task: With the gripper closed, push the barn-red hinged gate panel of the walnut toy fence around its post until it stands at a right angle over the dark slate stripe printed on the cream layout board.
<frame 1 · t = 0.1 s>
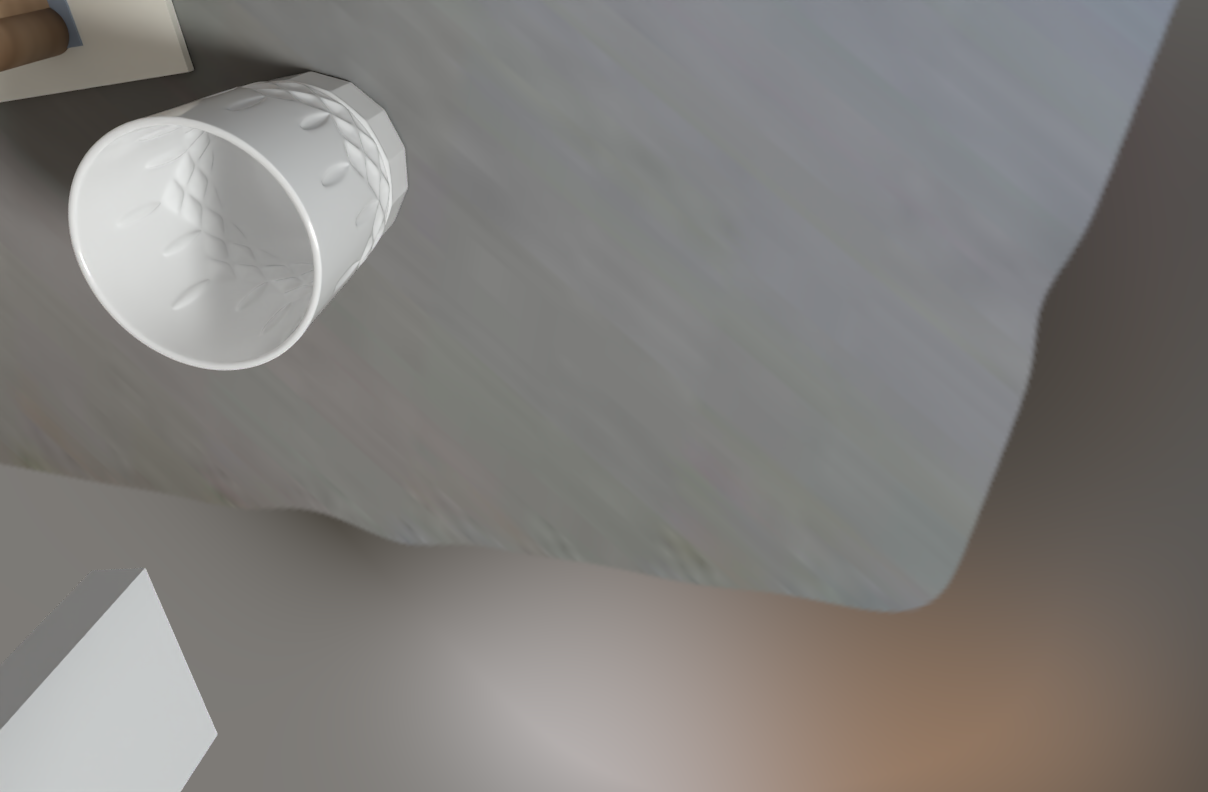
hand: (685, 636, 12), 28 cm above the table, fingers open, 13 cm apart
white cup: (326, 160, 40), on the table
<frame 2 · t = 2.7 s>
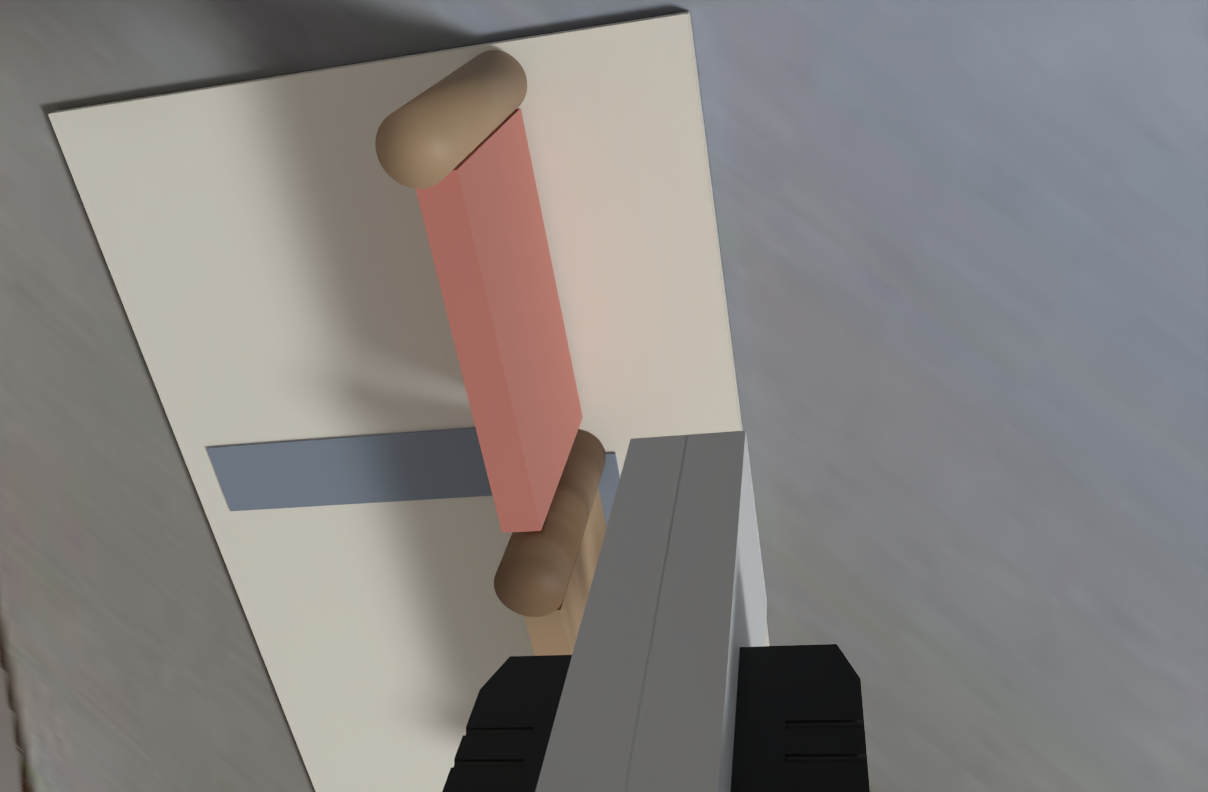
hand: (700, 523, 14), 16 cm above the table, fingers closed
fence gate: (501, 294, 26), point 4 cm above the table, hinge at 0.0°
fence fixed: (576, 454, 32), resting on layout board
layout board: (465, 497, 34), on the table
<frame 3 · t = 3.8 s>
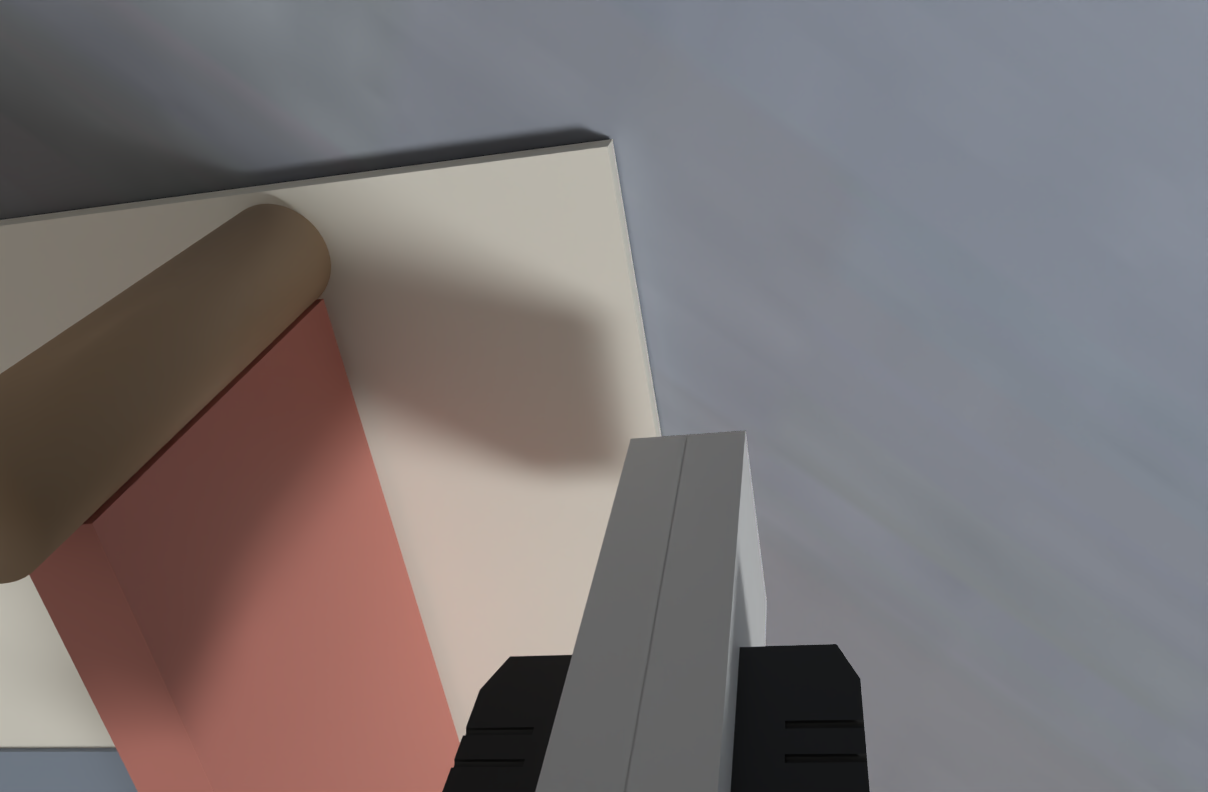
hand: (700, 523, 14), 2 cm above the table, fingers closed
fence gate: (272, 650, 14), point 4 cm above the table, hinge at 0.0°
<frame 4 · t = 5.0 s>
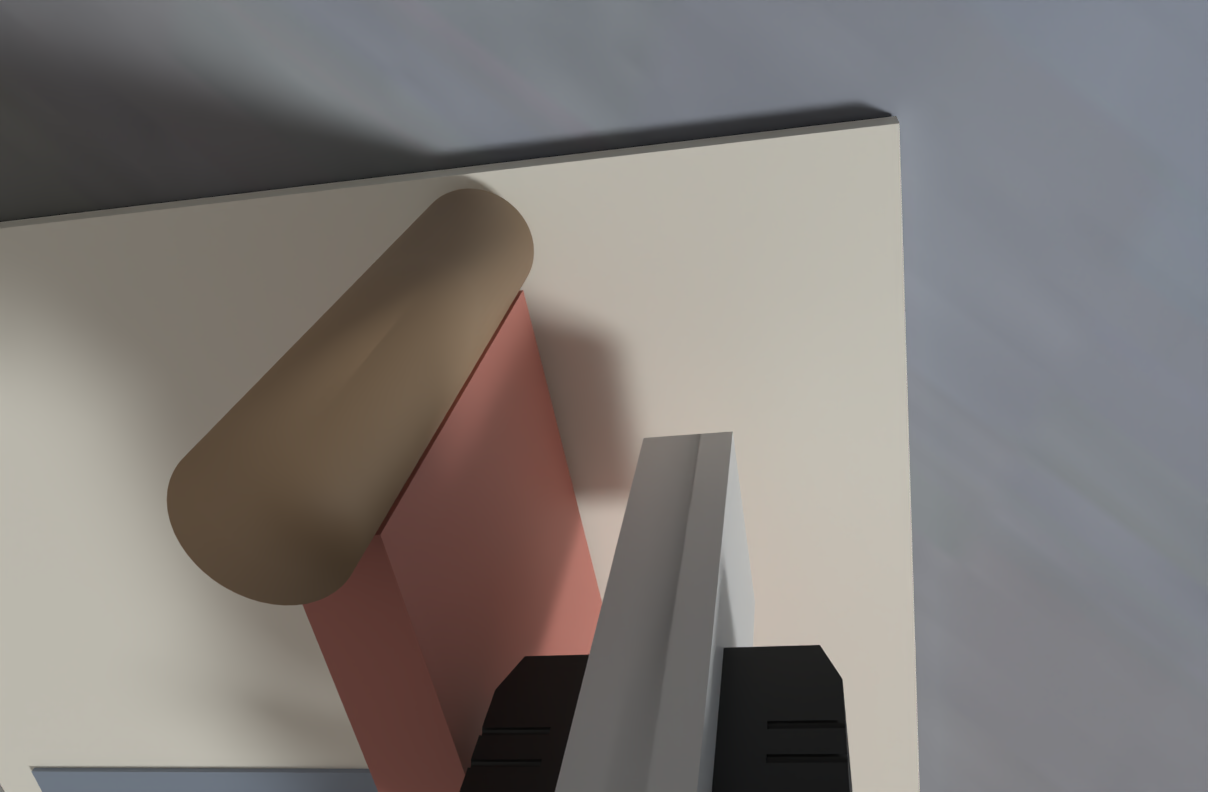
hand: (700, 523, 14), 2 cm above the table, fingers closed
fence gate: (498, 671, 13), point 4 cm above the table, hinge at 2.9°, touching gripper
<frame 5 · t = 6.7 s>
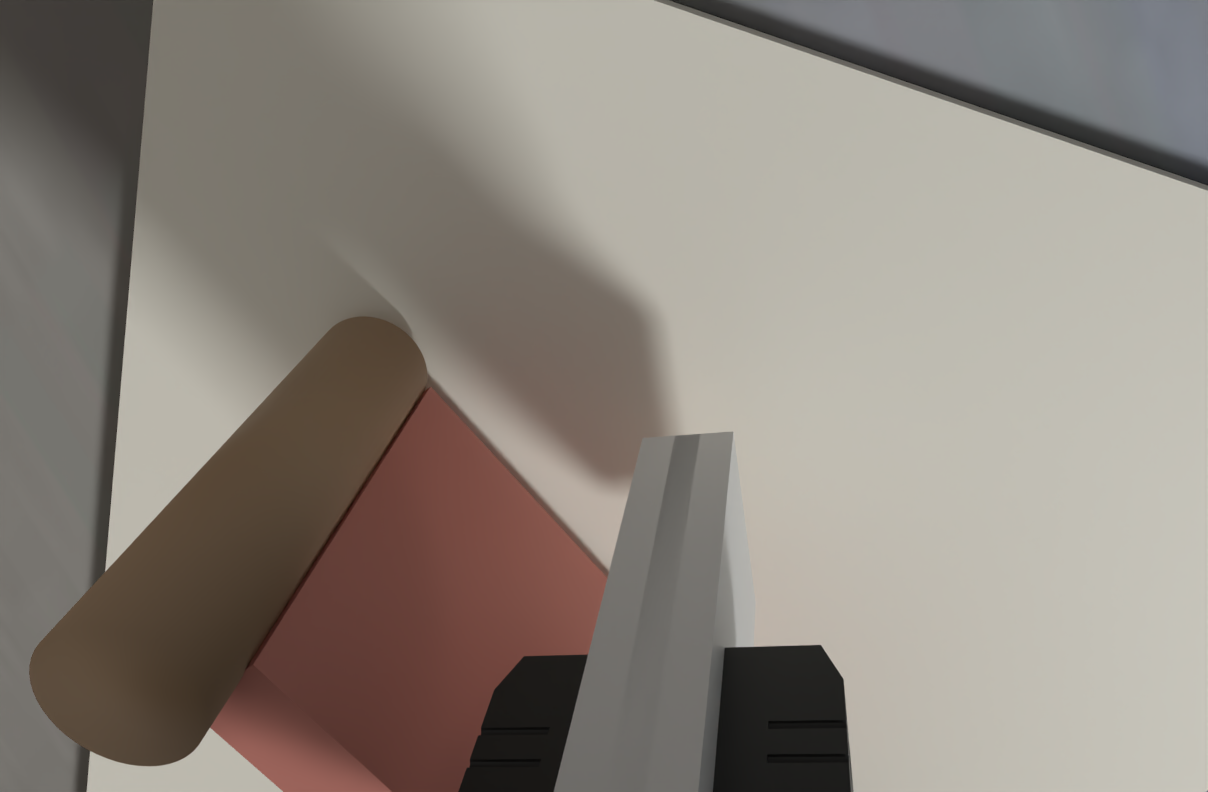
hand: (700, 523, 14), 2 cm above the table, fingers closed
fence gate: (529, 742, 13), point 4 cm above the table, hinge at 56.4°, touching gripper
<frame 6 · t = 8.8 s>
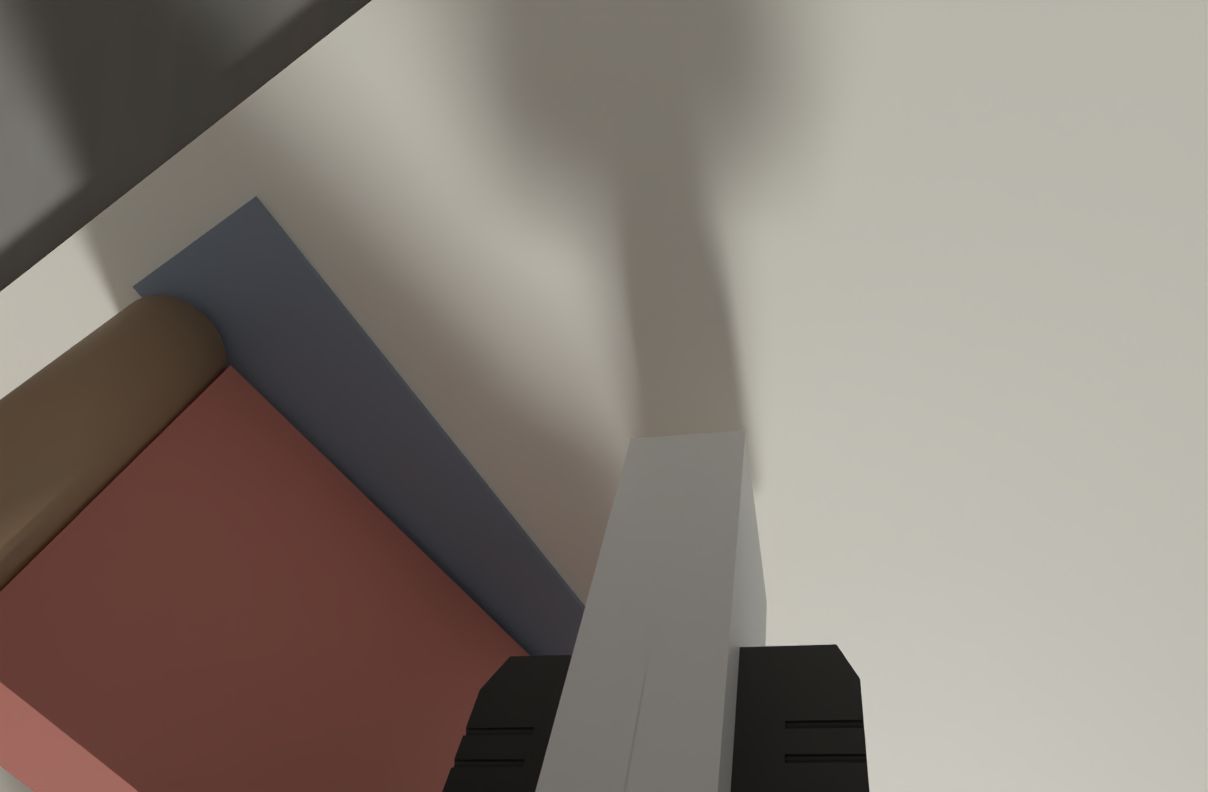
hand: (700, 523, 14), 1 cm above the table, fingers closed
fence gate: (311, 719, 13), point 4 cm above the table, hinge at 96.4°
layout board: (469, 664, 18), on the table
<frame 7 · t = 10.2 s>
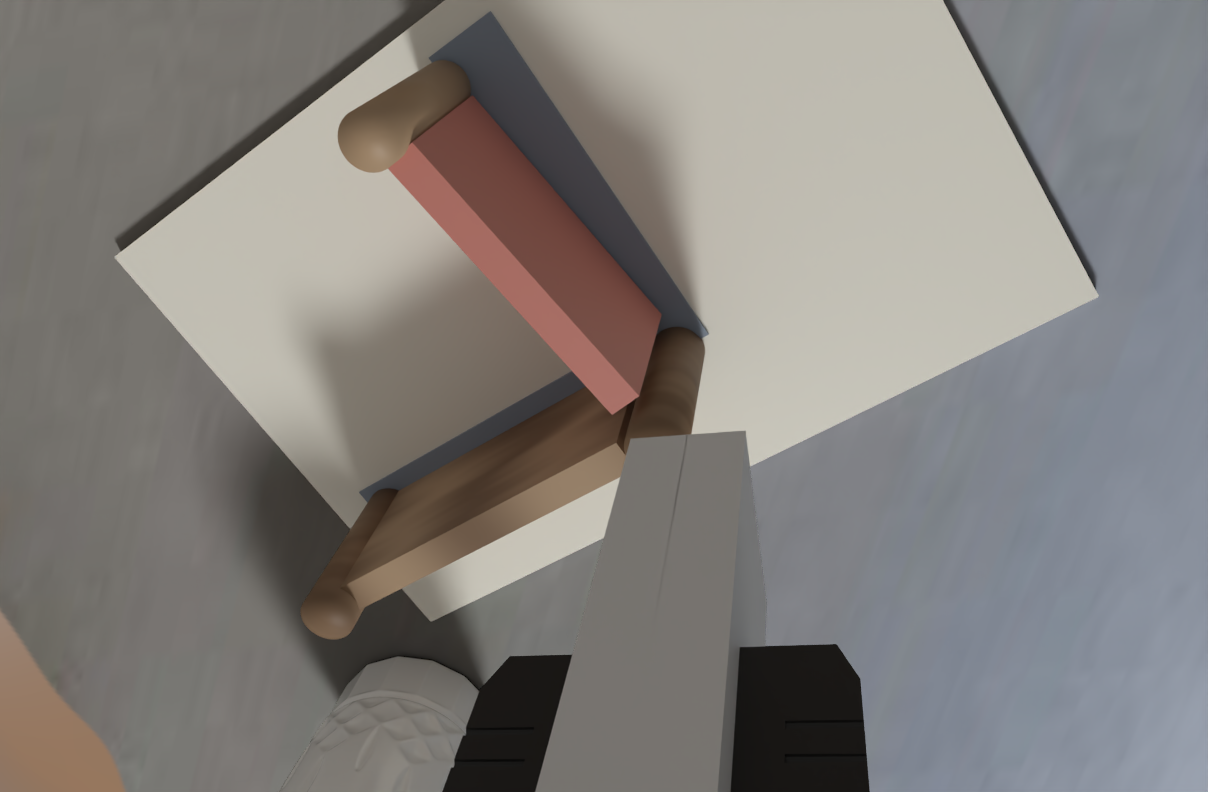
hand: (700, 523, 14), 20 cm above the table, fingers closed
fence gate: (519, 233, 30), point 4 cm above the table, hinge at 96.4°
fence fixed: (677, 350, 35), resting on layout board
layout board: (575, 271, 35), on the table
white cup: (422, 712, 45), on the table
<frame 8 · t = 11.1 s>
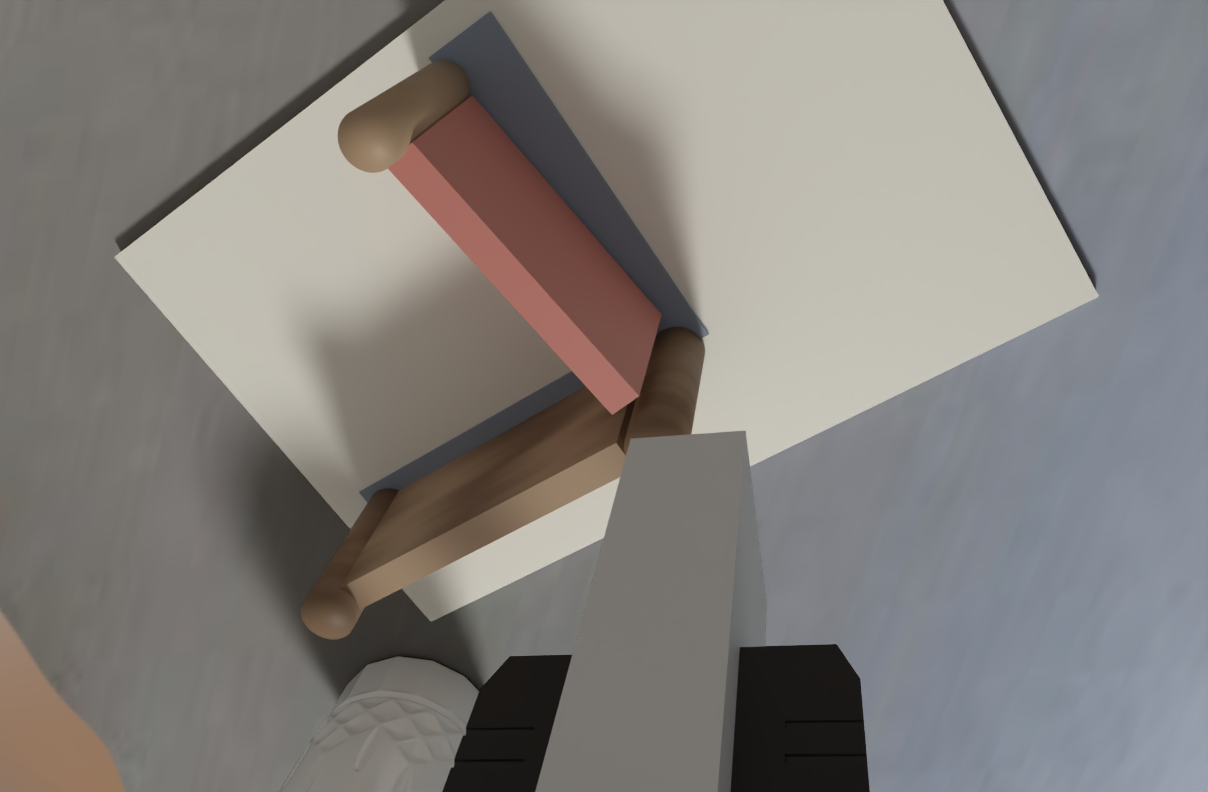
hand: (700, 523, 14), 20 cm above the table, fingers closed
fence gate: (519, 233, 30), point 4 cm above the table, hinge at 96.4°
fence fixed: (677, 350, 35), resting on layout board
layout board: (575, 271, 35), on the table
white cup: (422, 711, 45), on the table
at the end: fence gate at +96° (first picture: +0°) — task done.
